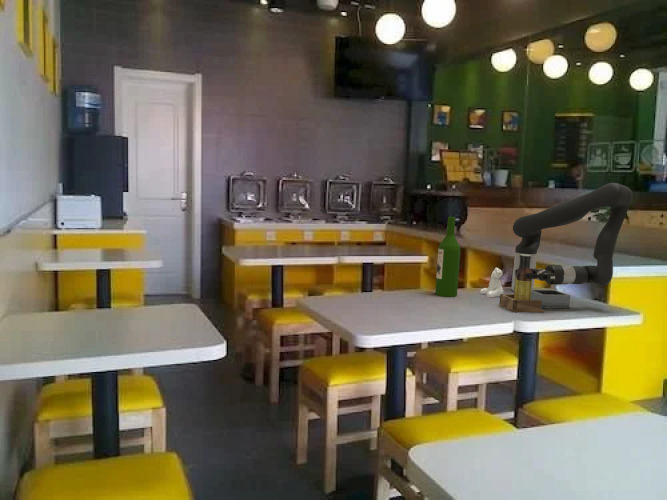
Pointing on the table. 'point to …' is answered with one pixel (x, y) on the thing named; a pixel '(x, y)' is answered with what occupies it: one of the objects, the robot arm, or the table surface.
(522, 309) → the tray
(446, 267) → the wine bottle
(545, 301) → the grey open box
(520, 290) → the sauce bottle
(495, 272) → the white creature statuette
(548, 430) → the table surface
